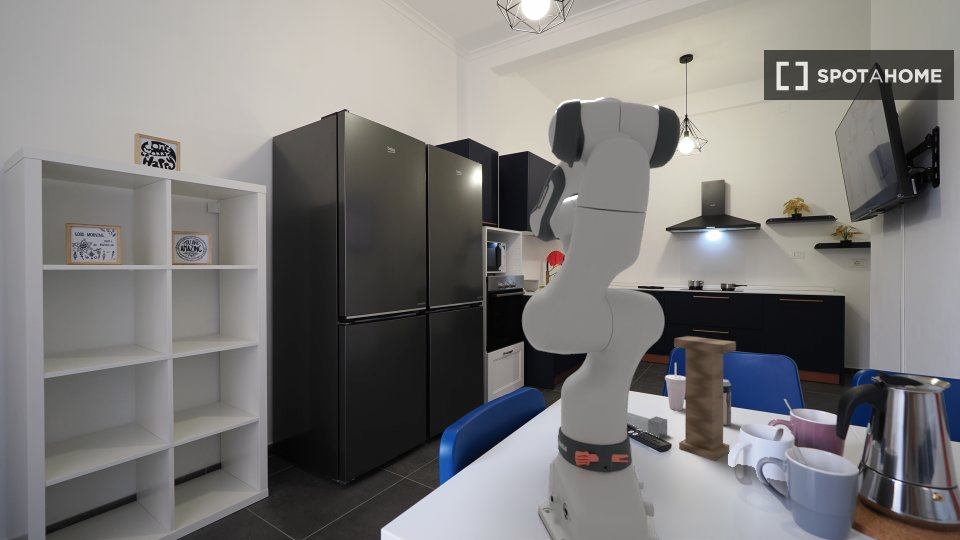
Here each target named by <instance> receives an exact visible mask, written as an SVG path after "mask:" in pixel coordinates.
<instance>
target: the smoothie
mask: <svg viewBox="0 0 960 540" xmlns="http://www.w3.org/2000/svg"><path fill="white" fill-rule="evenodd" d="M677 366H678V365H677V362H674V374H667V375H665V377H664V379H665V382H666V389H667V397H668V403H669V409H671V410H673V411H679V412H680V411H683V409H684V403H685V394H686V376H685V375H684V376H683V375H679V374H678V375H677V370H678V369H677V368H678V367H677Z"/></svg>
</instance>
